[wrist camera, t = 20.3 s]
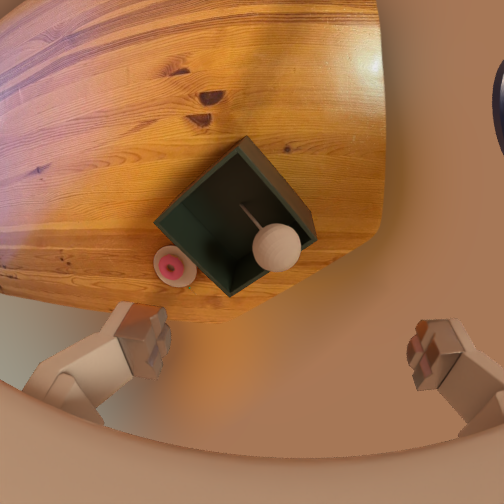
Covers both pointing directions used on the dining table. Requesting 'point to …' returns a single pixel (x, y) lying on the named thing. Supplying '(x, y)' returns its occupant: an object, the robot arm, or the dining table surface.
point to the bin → (233, 216)
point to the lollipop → (275, 246)
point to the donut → (174, 267)
